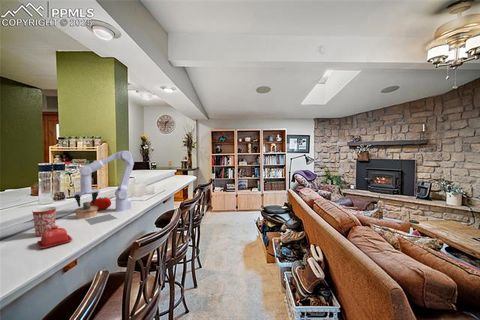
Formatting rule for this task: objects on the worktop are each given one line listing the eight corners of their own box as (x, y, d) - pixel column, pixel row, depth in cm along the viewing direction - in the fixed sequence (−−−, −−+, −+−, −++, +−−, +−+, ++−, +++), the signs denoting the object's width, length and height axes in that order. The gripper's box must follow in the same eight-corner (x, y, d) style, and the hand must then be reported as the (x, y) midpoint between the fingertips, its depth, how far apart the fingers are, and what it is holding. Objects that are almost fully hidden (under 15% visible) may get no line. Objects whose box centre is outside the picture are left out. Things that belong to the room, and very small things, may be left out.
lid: (94, 207, 141) (94, 199, 141) (101, 211, 134) (100, 202, 133) (72, 212, 132) (72, 203, 131) (77, 215, 124) (77, 206, 124)
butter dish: (67, 236, 104) (67, 219, 104) (73, 242, 97) (72, 225, 96) (36, 243, 95) (35, 226, 95) (40, 251, 88) (39, 232, 87)
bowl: (94, 213, 141) (93, 206, 141) (99, 216, 134) (99, 209, 133) (74, 217, 132) (73, 210, 132) (78, 220, 125) (78, 213, 125)
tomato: (113, 206, 159) (113, 195, 158) (110, 210, 147) (109, 198, 147) (92, 207, 154) (92, 196, 153) (87, 212, 142) (87, 200, 142)
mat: (109, 214, 137) (109, 214, 137) (117, 219, 128) (117, 218, 128) (84, 220, 126) (84, 219, 126) (91, 225, 117) (91, 224, 117)
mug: (52, 236, 103) (51, 210, 102) (29, 238, 100) (27, 212, 99) (63, 227, 115) (62, 204, 114) (42, 229, 111) (41, 205, 111)
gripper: (73, 187, 124) (74, 208, 124) (100, 184, 135) (101, 204, 136) (70, 185, 128) (71, 206, 129) (97, 183, 139) (97, 202, 140)
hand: (86, 205), depth 133 cm, fingers open, 7 cm apart
